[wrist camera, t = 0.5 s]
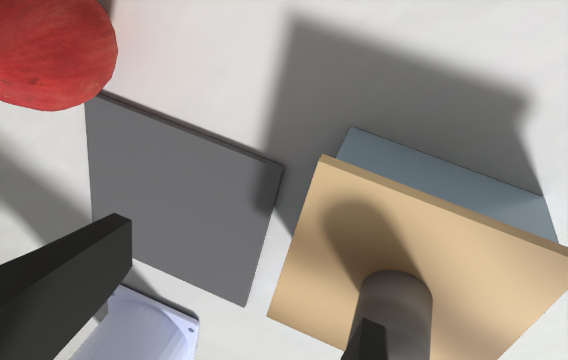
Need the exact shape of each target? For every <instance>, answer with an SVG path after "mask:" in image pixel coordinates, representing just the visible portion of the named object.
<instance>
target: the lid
mask: <svg viewBox="0 0 568 360" xmlns="http://www.w3.org/2000/svg"><path fill="white" fill-rule="evenodd" d="M567 290H568V247H566V246H563V245H560V244H558V243H555V242H553V241H550V240H547V239H545V238H542V237H540V236H537V235H534V234H532V233H529V232H526V231H524V230H521V229H519V228H516V227H513V226H511V225H508V224H506V223H503V222H500V221H498V220H495V219H492V218H490V217H487V216H485V215H482V214H479V213H477V212H474V211H472V210H469V209H466V208H464V207H461V206H458V205H456V204H453V203H451V202H448V201H445V200H443V199H440V198H438V197H435V196H432V195H430V194H427V193H424V192H422V191H419V190H417V189H414V188H411V187H409V186H406V185H404V184H401V183H398V182H396V181H393V180H390V179H388V178H385V177H383V176H380V175H377V174H375V173H372V172H370V171H367V170H364V169H362V168H359V167H356V166H354V165H351V164H349V163H346V162H343V161H341V160H338V159H336V158H333V157H330V156H328V155H325V154H322V155H321V157H320V159H319V161H318V164H317V167H316V170H315V173H314V175H313V178H312V181H311V184H310V187H309V190H308V193H307V196H306V199H305V202H304V205H303V208H302V211H301V214H300V217H299V220H298V223H297V226H296V229H295V232H294V235H293V238H292V241H291V244H290V247H289V250H288V253H287V256H286V259H285V262H284V265H283V268H282V271H281V274H280V277H279V280H278V283H277V286H276V289H275V292H274V295H273V298H272V301H271V304H270V307H269V310H268V313H267V316H266V317H269V318H271V319H273V320H275V321H278V322H280V323H282V324H284V325H287V326H289V327H291V328H293V329H296V330H298V331H300V332H302V333H304V334H307V335H309V336H311V337H313V338H316V339H318V340H320V341H322V342H325V343H327V344H329V345H331V346H333V347H336V348H338V349H340V350H342V351H345V350H346V348H347V346H348V344H349V342H350V341H351V339H352V337H353V335H354V333H355V331H356V329H357V328H358V326H359V324H360V322H361V320H362V318H363V317H364V318H366V319H368V320H371V321H373V322H375V323H378V324H380V325H383V326H385V328H386V330H387V344H388V356H389V360H497V359H498V358H499V357H500V356H501V355H502V354H503V353H504V352H505V351H506V350H507V349H508V348H509V347H510V346H511V345H512V344H513V343H514V342H515V341H516V340H517V339H518V338H519V337H520V336H521V335H522V334H523V333H524V332H525V331H526V330H527V329H528V328H529V327H530V326H531V325H532V324H533V323H534V322H535V321H536V320H537V319H538V318H539V317H540V316H541V315H542V314H543V313H544V312H545V311H546V310H547V309H548V308H549V307H550V306H551V305H552V304H553V303H555V302H556V301H557V300H558V299H559V298H560V297H561V296H562V295H563V294H564V293H565V292H566V291H567Z"/></svg>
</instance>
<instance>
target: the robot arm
mask: <svg viewBox="0 0 568 360" xmlns="http://www.w3.org/2000/svg"><path fill="white" fill-rule="evenodd" d="M131 267H132V220H131V219H128V218H126V217H124V216H121V215H119V214H116V213H112V214H110V215H108V216H106V217H104V218H101V219H99V220H97V221H95V222H93V223H91V224H89V225H87V226H85V227H83V228H81V229H79V230H77V231H75V232H73V233H71V234H69V235H66V236H64V237H62V238H60V239H58V240H56V241H54V242H52V243H49V244H47V245H45V246H43V247H41V248H39V249H37V250H34V251H32V252H30V253H27V254H25V255H23V256H20V257H18V258H16V259H13V260H11V261H8V262H6V263H4V264H1V265H0V360H53V359H54V358H55V357H56V356H57V355H58V353H59V352H60V351H61V350H62V349H63V348H64V347H65V346H66V345H67V344H68V343H69V341H70V340H71V339H72V338H73V337H74V336H75V335H76V334H77V333H78V332H79V331H80V329H81V328H82V327H83V326H84V325H85V324H86V323H87V322H88V321H89V320H90V318H91V317H92V316H93V315H94V314H95V313H96V312H97V311H98V310H99V309H100V307H101V306H102V305H103V304H104V303H105V302H106V301H107V306H108V314H107V315H106V317H105V318H104V319H103V320H102V321H101V322H100V324H99V325H98V326H97V327H96V328H95V329H94V331H93V332H92V333H91V334H90V335H89V337H88V338H87V339H86V340H85V341H84V342H83V344H82V345H81V346H80V347H79V348H78V349H77V351H76V352H75V353H74V354H73V355H72V356H71V358H70V359H69V360H194V355H195V349H196V343H197V338H198V332H199V326H200V324H199V322H198V321H197V320H196V319H194V318H192V317H190V316H187V315H185V314H183V313H181V312H179V311H177V310H174V309H172V308H170V307H168V306H166V305H163V304H161V303H159V302H157V301H155V300H153V299H150V298H148V297H146V296H144V295H142V294H140V293H137V292H135V291H133V290H131V289H129V288H127V287H124V286H122V285H120V283H121V282H122V280H123V279H124V277H125V276H126V274H127V273H128V271H129V270H130V268H131ZM341 360H389V356H388V344H387V330H386V328H385V326H383V325H380V324H378V323H375V322H373V321H371V320H368V319H366V318H364V317H363V318H362V320H361V322H360V324H359V326H358V328H357V329H356V331H355V333H354V335H353V337H352V339H351V341H350V342H349V344H348V346H347V348H346V350H345V352H344V353H343V355H342V357H341Z"/></svg>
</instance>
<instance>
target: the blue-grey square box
mask: <svg viewBox="0 0 568 360" xmlns="http://www.w3.org/2000/svg"><path fill="white" fill-rule="evenodd" d="M336 159H338V160H341V161H343V162H346V163H349V164H351V165H354V166H356V167H359V168H362V169H364V170H367V171H370V172H372V173H375V174H377V175H380V176H383V177H385V178H388V179H390V180H393V181H396V182H398V183H401V184H404V185H406V186H409V187H411V188H414V189H417V190H419V191H422V192H424V193H427V194H430V195H432V196H435V197H438V198H440V199H443V200H445V201H448V202H451V203H453V204H456V205H458V206H461V207H464V208H466V209H469V210H472V211H474V212H477V213H479V214H482V215H485V216H487V217H490V218H492V219H495V220H498V221H500V222H503V223H506V224H508V225H511V226H513V227H516V228H519V229H521V230H524V231H526V232H529V233H532V234H534V235H537V236H540V237H542V238H545V239H547V240H550V241H553V242H555V243H558V244H559V242H558V239H557V236H556V233H555V229H554V226H553V223H552V220H551V217H550V213H549V210H548V207H547V204H546V201H545V198H544V197H541V196H539V195H536V194H533V193H531V192H528V191H525V190H523V189H520V188H517V187H514V186H512V185H509V184H506V183H504V182H501V181H498V180H495V179H493V178H490V177H487V176H485V175H482V174H479V173H476V172H474V171H471V170H468V169H466V168H463V167H460V166H457V165H455V164H452V163H449V162H447V161H444V160H441V159H439V158H436V157H433V156H430V155H428V154H425V153H422V152H420V151H417V150H414V149H411V148H409V147H406V146H403V145H401V144H398V143H395V142H392V141H390V140H387V139H384V138H382V137H379V136H376V135H374V134H371V133H368V132H365V131H363V130H360V129H357V128H355V127H352V126H351V127H350V129H349V131H348V133H347V135H346V137H345V139H344V141H343V144H342V146H341V148H340V150H339V152H338V154H337V156H336Z"/></svg>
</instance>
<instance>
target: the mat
mask: <svg viewBox="0 0 568 360" xmlns="http://www.w3.org/2000/svg"><path fill="white" fill-rule="evenodd" d="M84 105H85V119H86V134H87V148H88V162H89V176H90V190H91V204H92V219H93V222H95V221H97V220H99V219H101V218H104V217H106V216H108V215H110V214H112V213H116V214H119V215H121V216H124V217H126V218H128V219H131V220H132V258H134V259H136V260H138V261H141V262H143V263H145V264H147V265H150V266H152V267H154V268H156V269H158V270H161V271H163V272H165V273H167V274H170V275H172V276H174V277H176V278H179V279H181V280H183V281H185V282H188V283H190V284H192V285H194V286H196V287H199V288H201V289H203V290H205V291H208V292H210V293H212V294H214V295H217V296H219V297H221V298H223V299H225V300H228V301H230V302H232V303H234V304H237V305H239V306H241V307H243V308H244V307H245V306H246V304H247V300H248V297H249V293H250V289H251V286H252V282H253V279H254V275H255V271H256V268H257V264H258V261H259V257H260V253H261V250H262V246H263V243H264V239H265V236H266V232H267V228H268V225H269V221H270V218H271V214H272V210H273V207H274V203H275V200H276V196H277V193H278V189H279V185H280V182H281V178H282V175H283V171H284V167H285V166H283V165H280V164H278V163H275V162H273V161H270V160H267V159H265V158H262V157H260V156H257V155H255V154H252V153H250V152H247V151H245V150H242V149H239V148H237V147H234V146H232V145H229V144H227V143H224V142H222V141H219V140H216V139H214V138H211V137H209V136H206V135H204V134H201V133H199V132H196V131H193V130H191V129H188V128H186V127H183V126H181V125H178V124H176V123H173V122H171V121H168V120H165V119H163V118H160V117H158V116H155V115H153V114H150V113H148V112H145V111H142V110H140V109H137V108H135V107H132V106H130V105H127V104H125V103H122V102H119V101H117V100H114V99H112V98H109V97H107V96H104V95H102V94H99V93H98V94H97V95H96V96H95V97H94V98H93V99H91V100H88V101H86V102H84Z"/></svg>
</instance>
